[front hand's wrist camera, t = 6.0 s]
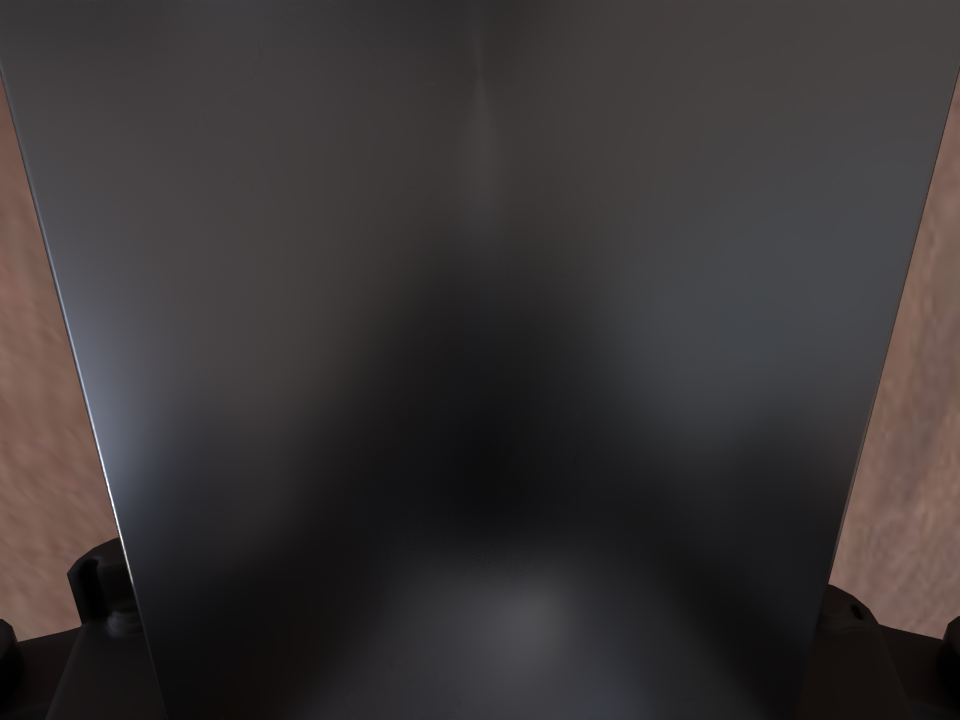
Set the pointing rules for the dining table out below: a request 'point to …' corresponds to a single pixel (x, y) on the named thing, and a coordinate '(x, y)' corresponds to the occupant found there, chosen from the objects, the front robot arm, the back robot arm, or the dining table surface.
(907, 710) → the front robot arm
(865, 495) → the dining table surface
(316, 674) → the bar
